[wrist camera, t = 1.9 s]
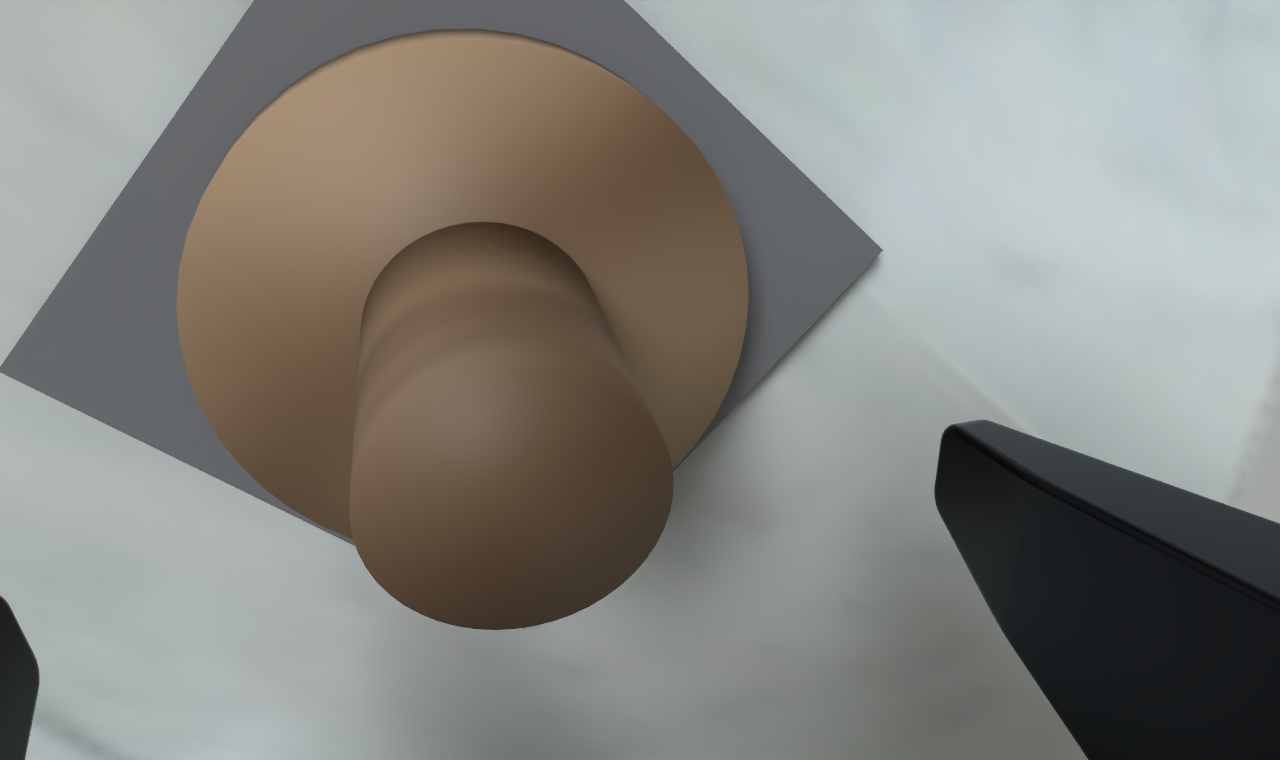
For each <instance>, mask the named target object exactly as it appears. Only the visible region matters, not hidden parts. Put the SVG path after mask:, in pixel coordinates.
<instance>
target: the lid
mask: <svg viewBox="0 0 1280 760" xmlns="http://www.w3.org/2000/svg"><path fill="white" fill-rule="evenodd" d="M748 300H749V293H748V274H747V262H746V257H745V252H744V247H743V242H742V237H741V232H740V229H739V227H738V224H737V221H736V218H735V215H734V212H733V209H732V206H731V204H730V201H729V199H728V197H727V195H726V193H725V191H724V189H723V187H722V185H721V184H720V182H719V180H718V178H717V176H716V174H715V172H714V170H713V169H712V167H711V166H710V165H709V163H708V162H707V160H706V159H705V158H704V156H703V155H702V153H701V152H700V151H699V149H698V148H697V146H696V145H695V144H694V142H693V141H692V140H691V139H690V138H689V137H688V136H687V135H686V134H685V133H684V132H683V131H682V130H681V128H680V127H679V126H678V125H677V124H676V123H675V122H674V121H673V120H672V119H671V118H670V117H669V116H668V115H667V114H666V113H665V112H664V111H662V110H661V109H660V108H659V107H658V106H657V105H656V104H655V103H653V102H652V101H651V100H650V99H649V98H648V97H646V96H645V95H644V94H643V93H641V92H640V91H639V90H637V89H636V88H635V87H634V86H632V85H631V84H630V83H629V82H627V81H626V80H625V79H624V78H622V77H621V76H619V75H618V74H616V73H614V72H612V71H611V70H609V69H607V68H606V67H604V66H602V65H601V64H599V63H597V62H595V61H594V60H592V59H590V58H588V57H586V56H583V55H581V54H579V53H576V52H574V51H571V50H569V49H567V48H564V47H562V46H559V45H557V44H555V43H551V42H547V41H543V40H539V39H536V38H532V37H528V36H524V35H521V34H517V33H508V32H500V31H492V30H484V29H436V30H430V31H423V32H417V33H410V34H404V35H397V36H394V37H391V38H387V39H384V40H381V41H377V42H374V43H371V44H367V45H364V46H361V47H358V48H356V49H353V50H351V51H349V52H347V53H345V54H343V55H340V56H338V57H336V58H334V59H332V60H330V61H327V62H325V63H323V64H321V65H320V66H318V67H317V68H315V69H314V70H312V71H311V72H309V73H307V74H306V75H304V76H303V77H301V78H300V79H298V80H297V81H295V82H294V83H292V84H291V85H289V86H288V87H287V88H286V89H284V90H283V91H282V92H281V93H280V94H279V95H278V96H277V97H275V98H274V99H273V100H272V101H271V102H270V103H269V104H267V105H266V106H265V107H264V108H263V109H262V110H261V111H260V112H259V113H258V114H257V115H256V116H255V118H254V119H253V120H252V121H251V122H250V124H249V125H248V126H247V127H246V128H245V130H244V131H243V132H242V133H241V134H240V135H239V137H238V138H237V139H236V140H235V142H234V143H233V145H232V147H231V148H230V150H229V152H228V153H227V155H226V157H225V158H224V160H223V162H222V163H221V165H220V166H219V168H218V170H217V171H216V173H215V175H214V177H213V178H212V180H211V182H210V184H209V185H208V187H207V189H206V190H205V192H204V194H203V196H202V198H201V200H200V203H199V205H198V208H197V210H196V213H195V215H194V217H193V220H192V222H191V225H190V227H189V230H188V232H187V236H186V241H185V245H184V249H183V253H182V258H181V262H180V266H179V274H178V288H177V302H176V309H177V321H178V333H179V343H180V347H181V351H182V355H183V359H184V363H185V367H186V371H187V375H188V378H189V381H190V383H191V386H192V388H193V391H194V393H195V395H196V398H197V400H198V403H199V405H200V407H201V410H202V411H203V413H204V415H205V416H206V418H207V420H208V421H209V423H210V425H211V427H212V428H213V430H214V432H215V433H216V435H217V437H218V438H219V440H220V441H221V442H222V443H223V445H224V446H225V447H226V448H227V450H228V451H229V452H230V453H231V455H232V456H233V457H234V458H235V460H236V461H237V462H238V463H239V465H240V466H241V467H242V468H243V469H244V470H245V471H246V472H247V473H248V474H249V475H250V476H252V477H253V478H254V479H255V480H256V481H257V482H258V483H259V484H260V485H261V486H262V487H263V488H264V489H265V490H266V491H268V492H269V493H271V494H272V495H273V496H275V497H276V498H277V499H279V500H280V501H281V502H283V503H284V504H285V505H287V506H288V507H290V508H291V509H292V510H294V511H296V512H297V513H299V514H301V515H303V516H305V517H306V518H308V519H310V520H312V521H313V522H315V523H317V524H319V525H320V526H322V527H325V528H327V529H329V530H332V531H334V532H337V533H339V534H341V535H344V536H346V537H348V538H351V539H353V540H354V542H355V545H356V548H357V551H358V554H359V555H360V557H361V559H362V561H363V563H364V565H365V567H366V568H367V570H368V571H369V572H370V574H371V575H372V576H373V578H374V579H375V580H376V581H377V583H378V584H379V585H380V586H381V587H383V588H384V589H385V590H386V591H387V592H388V593H389V594H390V595H391V596H392V597H394V598H395V599H397V600H398V601H399V602H401V603H402V604H403V605H405V606H407V607H409V608H410V609H412V610H414V611H416V612H418V613H420V614H422V615H424V616H427V617H429V618H432V619H434V620H437V621H440V622H444V623H447V624H451V625H455V626H460V627H467V628H473V629H489V630H501V629H517V628H523V627H530V626H536V625H540V624H544V623H548V622H552V621H555V620H558V619H560V618H563V617H566V616H569V615H572V614H574V613H576V612H578V611H580V610H582V609H584V608H587V607H589V606H590V605H592V604H594V603H596V602H597V601H599V600H601V599H602V598H604V597H606V596H607V595H608V594H610V593H611V592H612V591H614V590H615V589H616V588H618V587H619V586H620V585H621V584H623V583H624V582H625V581H626V580H627V579H628V578H629V577H630V576H631V575H632V574H633V573H634V572H635V571H636V570H637V569H638V568H639V567H640V565H641V564H642V563H643V562H644V561H645V560H646V558H647V557H648V555H649V554H650V552H651V551H652V549H653V548H654V546H655V545H656V543H657V541H658V539H659V537H660V535H661V533H662V531H663V529H664V527H665V524H666V521H667V518H668V515H669V512H670V507H671V502H672V497H673V472H672V470H673V469H674V468H675V467H676V466H677V465H678V464H679V463H680V462H681V461H682V460H683V458H684V457H685V456H686V455H687V454H688V452H689V451H690V450H691V449H692V448H693V446H694V445H695V444H696V443H697V442H698V441H699V439H700V438H701V436H702V435H703V433H704V432H705V430H706V429H707V427H708V425H709V424H710V422H711V421H712V419H713V418H714V416H715V415H716V413H717V411H718V409H719V407H720V405H721V403H722V401H723V399H724V397H725V395H726V393H727V391H728V389H729V387H730V384H731V381H732V378H733V376H734V373H735V370H736V367H737V364H738V362H739V359H740V354H741V350H742V345H743V340H744V336H745V331H746V324H747V312H748Z"/></svg>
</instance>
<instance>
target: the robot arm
mask: <svg viewBox="0 0 1280 760" xmlns="http://www.w3.org/2000/svg"><path fill="white" fill-rule="evenodd" d="M934 493H935V501H936V506H937V509H938V511H939V514H940V516H941V518H942V520H943V521H944V523H945V525H946V527H947V529H948V531H949V533H950V535H951V537H952V538H953V540H954V542H955V544H956V546H957V548H958V550H959V552H960V554H961V555H962V557H963V559H964V561H965V563H966V565H967V567H968V569H969V571H970V572H971V574H972V576H973V578H974V580H975V582H976V584H977V586H978V588H979V590H980V591H981V593H982V595H983V597H984V599H985V601H986V603H987V605H988V607H989V608H990V610H991V612H992V614H993V616H994V617H995V619H996V621H997V623H998V624H999V626H1000V628H1001V630H1002V631H1003V633H1004V634H1005V636H1006V637H1007V639H1008V641H1009V642H1010V644H1011V645H1012V647H1013V648H1014V650H1015V651H1016V653H1017V654H1018V656H1019V657H1020V659H1021V660H1022V662H1023V663H1024V665H1025V666H1026V668H1027V669H1028V671H1029V672H1030V674H1031V675H1032V677H1033V678H1034V680H1035V681H1036V683H1037V684H1038V686H1039V687H1040V689H1041V690H1042V691H1043V693H1044V694H1045V696H1046V697H1047V699H1048V700H1049V702H1050V703H1051V705H1052V706H1053V708H1054V709H1055V711H1056V712H1057V714H1058V715H1059V717H1060V718H1061V720H1062V721H1063V723H1064V724H1065V726H1066V727H1067V728H1068V730H1069V731H1070V733H1071V734H1072V736H1073V737H1074V739H1075V740H1076V742H1077V743H1078V745H1079V746H1080V748H1081V749H1082V751H1083V752H1084V754H1085V755H1086V757H1087V758H1088V760H1280V524H1279V523H1277V522H1274V521H1271V520H1268V519H1265V518H1262V517H1260V516H1257V515H1254V514H1251V513H1248V512H1245V511H1243V510H1240V509H1237V508H1234V507H1231V506H1228V505H1226V504H1223V503H1220V502H1217V501H1214V500H1211V499H1209V498H1206V497H1203V496H1200V495H1197V494H1194V493H1192V492H1189V491H1186V490H1183V489H1180V488H1178V487H1175V486H1172V485H1169V484H1166V483H1163V482H1161V481H1158V480H1155V479H1152V478H1149V477H1146V476H1144V475H1141V474H1138V473H1135V472H1132V471H1129V470H1127V469H1124V468H1121V467H1118V466H1115V465H1112V464H1110V463H1107V462H1104V461H1101V460H1098V459H1096V458H1093V457H1090V456H1087V455H1084V454H1081V453H1079V452H1076V451H1073V450H1070V449H1067V448H1064V447H1062V446H1059V445H1056V444H1053V443H1050V442H1047V441H1045V440H1042V439H1039V438H1036V437H1033V436H1030V435H1028V434H1025V433H1022V432H1019V431H1016V430H1014V429H1011V428H1008V427H1005V426H1002V425H999V424H997V423H994V422H991V421H988V420H975V421H970V422H964V423H958V424H953V425H950V426H949V427H947V428H946V429H945V431H944V433H943V434H942V438H941V444H940V451H939V459H938V466H937V473H936V481H935V491H934ZM38 689H39V668H38V664H37V660H36V658H35V655H34V653H33V651H32V650H31V648H30V646H29V644H28V642H27V640H26V638H25V636H24V634H23V632H22V630H21V628H20V626H19V624H18V622H17V620H16V618H15V616H14V614H13V612H12V610H11V608H10V606H9V604H8V603H7V601H6V600H5V599H4V598H3V597H2V596H0V760H25V757H26V752H27V746H28V741H29V736H30V731H31V726H32V720H33V715H34V710H35V705H36V700H37V695H38Z"/></svg>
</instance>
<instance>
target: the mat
mask: <svg viewBox="0 0 1280 760" xmlns="http://www.w3.org/2000/svg"><path fill="white" fill-rule="evenodd" d="M436 29H484V30H492V31H500V32H508V33H517V34H521V35H524V36H528V37H532V38H536V39H539V40H543V41H547V42H551V43H555V44H557V45H559V46H562V47H564V48H567V49H569V50H571V51H574V52H576V53H579V54H581V55H583V56H586V57H588V58H590V59H592V60H594V61H595V62H597V63H599V64H601V65H602V66H604V67H606V68H607V69H609V70H611V71H612V72H614V73H616V74H618V75H619V76H621V77H622V78H624V79H625V80H626V81H627V82H629V83H630V84H631V85H632V86H634V87H635V88H636V89H637V90H639V91H640V92H641V93H643V94H644V95H645V96H646V97H648V98H649V99H650V100H651V101H652V102H653V103H655V104H656V105H657V106H658V107H659V108H660V109H661V110H662V111H664V112H665V113H666V114H667V115H668V116H669V117H670V118H671V119H672V120H673V121H674V122H675V123H676V124H677V125H678V126H679V127H680V128H681V130H682V131H683V132H684V133H685V134H686V135H687V136H688V137H689V138H690V139H691V140H692V141H693V142H694V144H695V145H696V146H697V148H698V149H699V151H700V152H701V153H702V155H703V156H704V158H705V159H706V160H707V162H708V163H709V165H710V166H711V167H712V169H713V170H714V172H715V174H716V176H717V178H718V180H719V182H720V184H721V185H722V187H723V189H724V191H725V193H726V195H727V197H728V199H729V201H730V204H731V206H732V209H733V212H734V215H735V218H736V221H737V224H738V227H739V229H740V232H741V237H742V242H743V247H744V252H745V257H746V262H747V274H748V293H749V300H748V312H747V324H746V331H745V336H744V340H743V345H742V350H741V354H740V359H739V362H738V364H737V367H736V370H735V373H734V376H733V378H732V381H731V384H730V387H729V389H728V391H727V393H726V395H725V397H724V399H723V401H722V403H721V405H720V407H719V409H718V411H717V413H716V415H715V416H714V418H713V419H712V421H711V422H710V424H709V425H708V427H707V429H706V430H705V432H704V433H703V435H702V436H701V438H700V439H699V441H698V442H697V443H696V444H695V445H694V446H693V448H692V449H691V450H690V451H689V452H688V454H687V455H686V456H685V457H684V458H683V460H682V461H681V462H680V463H679V464H678V465H677V466H676V467H675V468H674V469H673V470H672V472H673V471H674V470H675V469H676V468H677V467H678V466H679V465H680V464H681V463H682V462H683V461H684V460H685V459H686V458H687V456H688V455H689V454H690V453H691V452H692V451H693V450H694V449H695V448H696V447H697V446H698V445H699V444H700V443H701V442H702V441H703V440H704V439H705V437H706V436H707V435H708V434H709V433H710V432H711V431H712V430H713V429H714V428H715V427H716V426H717V425H718V424H719V423H720V422H721V421H722V420H723V418H724V417H725V416H726V415H727V414H728V413H729V412H730V411H731V410H732V409H733V408H734V407H735V406H736V405H737V404H738V403H739V402H740V401H741V399H742V398H743V397H744V396H745V395H746V394H747V393H748V392H749V391H750V390H751V389H752V388H753V387H754V386H755V385H756V384H757V383H758V382H759V380H760V379H761V378H762V377H763V376H764V375H765V374H766V373H767V372H768V371H769V370H770V369H771V368H772V367H773V366H774V365H775V364H776V363H777V361H778V360H779V359H780V358H781V357H782V356H783V355H784V354H785V353H786V352H787V351H788V350H789V349H790V348H791V347H792V346H793V345H794V344H795V342H796V341H797V340H798V339H799V338H800V337H801V336H802V335H803V334H804V333H805V332H806V331H807V330H808V329H809V328H810V327H811V326H812V325H813V323H814V322H815V321H816V320H817V319H818V318H819V317H820V316H821V315H822V314H823V313H824V312H825V311H826V310H827V309H828V308H829V307H830V306H831V304H832V303H833V302H834V301H835V300H836V299H837V298H838V297H839V296H840V295H841V294H842V293H843V292H844V291H845V290H846V289H847V288H848V287H849V285H850V284H851V283H852V282H853V281H854V280H855V279H856V278H857V277H858V276H859V275H860V274H861V273H862V272H863V271H864V270H865V269H866V268H867V267H868V265H869V264H870V263H871V262H872V261H873V260H874V259H875V258H876V257H877V256H878V255H879V254H880V253H881V252H882V251H883V250H882V249H881V248H880V247H879V246H878V245H877V244H876V243H875V242H874V241H873V240H872V239H871V238H870V237H869V236H868V235H867V234H866V233H865V232H864V231H863V230H862V229H861V228H859V227H858V226H857V225H856V224H855V223H854V222H853V221H852V220H851V219H850V218H849V217H848V216H847V215H846V214H845V213H844V212H843V211H842V210H841V209H840V208H839V207H838V206H837V205H836V204H835V203H834V202H833V201H831V200H830V199H829V198H828V197H827V196H826V195H825V194H824V193H823V192H822V191H821V190H820V189H819V188H818V187H817V186H816V185H815V184H814V183H813V182H812V181H811V180H810V179H809V178H808V177H807V176H806V175H805V174H804V173H802V172H801V171H800V170H799V169H798V168H797V167H796V166H795V165H794V164H793V163H792V162H791V161H790V160H789V159H788V158H787V157H786V156H785V155H784V154H783V153H782V152H781V151H780V150H779V149H778V148H777V147H776V146H774V145H773V144H772V143H771V142H770V141H769V140H768V139H767V138H766V137H765V136H764V135H763V134H762V133H761V132H760V131H759V130H758V129H757V128H756V127H755V126H754V125H753V124H752V123H751V122H750V121H749V120H748V119H746V118H745V117H744V116H743V115H742V114H741V113H740V112H739V111H738V110H737V109H736V108H735V107H734V106H733V105H732V104H731V103H730V102H729V101H728V100H727V99H726V98H725V97H724V96H723V95H722V94H721V93H720V92H719V91H717V90H716V89H715V88H714V87H713V86H712V85H711V84H710V83H709V82H708V81H707V80H706V79H705V78H704V77H703V76H702V75H701V74H700V73H699V72H698V71H697V70H696V69H695V68H694V67H693V66H692V65H691V64H689V63H688V62H687V61H686V60H685V59H684V58H683V57H682V56H681V55H680V54H679V53H678V52H677V51H676V50H675V49H674V48H673V47H672V46H671V45H670V44H669V43H668V42H667V41H666V40H665V39H664V38H663V37H662V36H660V35H659V34H658V33H657V32H656V31H655V30H654V29H653V28H652V27H651V26H650V25H649V24H648V23H647V22H646V21H645V20H644V19H643V18H642V17H641V16H640V15H639V14H638V13H637V12H636V11H635V10H634V9H632V8H631V7H630V6H629V5H628V4H627V3H626V2H625V1H624V0H254V1H253V3H252V4H251V6H250V7H249V9H248V10H247V12H246V13H245V14H244V16H243V17H242V19H241V20H240V22H239V23H238V25H237V26H236V27H235V29H234V30H233V32H232V33H231V35H230V36H229V38H228V39H227V40H226V42H225V43H224V45H223V46H222V48H221V49H220V51H219V52H218V53H217V55H216V56H215V58H214V59H213V61H212V62H211V64H210V65H209V66H208V68H207V69H206V71H205V72H204V74H203V75H202V77H201V78H200V79H199V81H198V82H197V84H196V85H195V87H194V88H193V90H192V91H191V92H190V94H189V95H188V97H187V98H186V100H185V101H184V103H183V104H182V105H181V107H180V108H179V110H178V111H177V113H176V114H175V116H174V117H173V118H172V120H171V121H170V123H169V124H168V126H167V127H166V129H165V130H164V131H163V133H162V134H161V136H160V137H159V139H158V140H157V142H156V143H155V144H154V146H153V147H152V149H151V150H150V152H149V153H148V155H147V156H146V157H145V159H144V160H143V162H142V163H141V165H140V166H139V168H138V169H137V170H136V172H135V173H134V175H133V176H132V178H131V179H130V181H129V182H128V183H127V185H126V186H125V188H124V189H123V191H122V192H121V194H120V195H119V196H118V198H117V199H116V201H115V202H114V204H113V205H112V207H111V208H110V209H109V211H108V212H107V214H106V215H105V217H104V218H103V220H102V221H101V222H100V224H99V225H98V227H97V228H96V230H95V231H94V233H93V234H92V235H91V237H90V238H89V240H88V241H87V243H86V244H85V246H84V247H83V248H82V250H81V251H80V253H79V254H78V256H77V257H76V258H75V260H74V261H73V263H72V264H71V266H70V267H69V269H68V270H67V271H66V273H65V274H64V276H63V277H62V279H61V280H60V282H59V283H58V284H57V286H56V287H55V289H54V290H53V292H52V293H51V295H50V296H49V297H48V299H47V300H46V302H45V303H44V305H43V306H42V308H41V309H40V310H39V312H38V313H37V315H36V316H35V318H34V319H33V321H32V322H31V323H30V325H29V326H28V328H27V329H26V331H25V332H24V334H23V335H22V336H21V338H20V339H19V341H18V342H17V344H16V345H15V347H14V348H13V349H12V351H11V352H10V354H9V355H8V357H7V358H6V360H5V361H4V362H3V364H2V365H1V367H0V372H1V373H3V374H5V375H7V376H9V377H11V378H13V379H15V380H17V381H19V382H21V383H23V384H25V385H27V386H29V387H31V388H34V389H36V390H38V391H40V392H42V393H44V394H46V395H48V396H50V397H52V398H54V399H56V400H58V401H60V402H62V403H64V404H66V405H68V406H70V407H72V408H74V409H76V410H78V411H81V412H83V413H85V414H87V415H89V416H91V417H93V418H95V419H97V420H99V421H101V422H103V423H105V424H107V425H109V426H111V427H113V428H115V429H117V430H119V431H121V432H123V433H125V434H128V435H130V436H132V437H134V438H136V439H138V440H140V441H142V442H144V443H146V444H148V445H150V446H152V447H154V448H156V449H158V450H160V451H162V452H164V453H166V454H168V455H170V456H173V457H175V458H177V459H179V460H181V461H183V462H185V463H187V464H189V465H191V466H193V467H195V468H197V469H199V470H201V471H203V472H205V473H207V474H209V475H211V476H213V477H215V478H217V479H220V480H222V481H224V482H226V483H228V484H230V485H232V486H234V487H236V488H238V489H240V490H242V491H244V492H246V493H248V494H250V495H252V496H254V497H256V498H258V499H260V500H262V501H264V502H267V503H269V504H271V505H273V506H275V507H277V508H279V509H281V510H283V511H285V512H287V513H289V514H291V515H293V516H295V517H297V518H299V519H301V520H303V521H305V522H307V523H309V524H312V525H314V526H316V527H318V528H320V529H322V530H324V531H326V532H328V533H330V534H332V535H334V536H336V537H338V538H340V539H342V540H344V541H346V542H348V543H350V544H352V545H354V546H356V545H355V542H354V540H353V539H351V538H348V537H346V536H344V535H341V534H339V533H337V532H334V531H332V530H329V529H327V528H325V527H322V526H320V525H319V524H317V523H315V522H313V521H312V520H310V519H308V518H306V517H305V516H303V515H301V514H299V513H297V512H296V511H294V510H292V509H291V508H290V507H288V506H287V505H285V504H284V503H283V502H281V501H280V500H279V499H277V498H276V497H275V496H273V495H272V494H271V493H269V492H268V491H266V490H265V489H264V488H263V487H262V486H261V485H260V484H259V483H258V482H257V481H256V480H255V479H254V478H253V477H252V476H250V475H249V474H248V473H247V472H246V471H245V470H244V469H243V468H242V467H241V466H240V465H239V463H238V462H237V461H236V460H235V458H234V457H233V456H232V455H231V453H230V452H229V451H228V450H227V448H226V447H225V446H224V445H223V443H222V442H221V441H220V440H219V438H218V437H217V435H216V433H215V432H214V430H213V428H212V427H211V425H210V423H209V421H208V420H207V418H206V416H205V415H204V413H203V411H202V410H201V407H200V405H199V403H198V400H197V398H196V395H195V393H194V391H193V388H192V386H191V383H190V381H189V378H188V375H187V371H186V367H185V363H184V359H183V355H182V351H181V347H180V343H179V333H178V321H177V309H176V302H177V288H178V274H179V266H180V262H181V258H182V253H183V249H184V245H185V241H186V236H187V232H188V230H189V227H190V225H191V222H192V220H193V217H194V215H195V213H196V210H197V208H198V205H199V203H200V200H201V198H202V196H203V194H204V192H205V190H206V189H207V187H208V185H209V184H210V182H211V180H212V178H213V177H214V175H215V173H216V171H217V170H218V168H219V166H220V165H221V163H222V162H223V160H224V158H225V157H226V155H227V153H228V152H229V150H230V148H231V147H232V145H233V143H234V142H235V140H236V139H237V138H238V137H239V135H240V134H241V133H242V132H243V131H244V130H245V128H246V127H247V126H248V125H249V124H250V122H251V121H252V120H253V119H254V118H255V116H256V115H257V114H258V113H259V112H260V111H261V110H262V109H263V108H264V107H265V106H266V105H267V104H269V103H270V102H271V101H272V100H273V99H274V98H275V97H277V96H278V95H279V94H280V93H281V92H282V91H283V90H284V89H286V88H287V87H288V86H289V85H291V84H292V83H294V82H295V81H297V80H298V79H300V78H301V77H303V76H304V75H306V74H307V73H309V72H311V71H312V70H314V69H315V68H317V67H318V66H320V65H321V64H323V63H325V62H327V61H330V60H332V59H334V58H336V57H338V56H340V55H343V54H345V53H347V52H349V51H351V50H353V49H356V48H358V47H361V46H364V45H367V44H371V43H374V42H377V41H381V40H384V39H387V38H391V37H394V36H397V35H404V34H410V33H417V32H423V31H430V30H436ZM523 628H525V627H523Z"/></svg>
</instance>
